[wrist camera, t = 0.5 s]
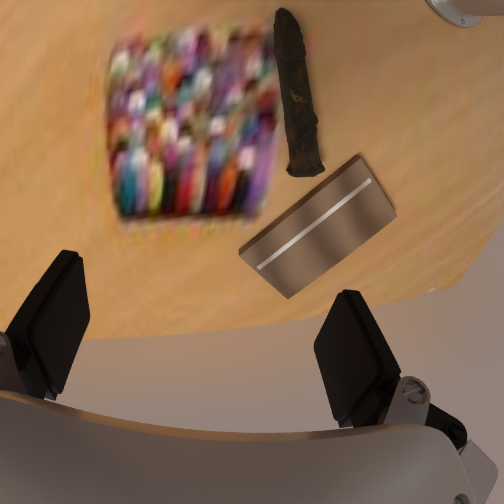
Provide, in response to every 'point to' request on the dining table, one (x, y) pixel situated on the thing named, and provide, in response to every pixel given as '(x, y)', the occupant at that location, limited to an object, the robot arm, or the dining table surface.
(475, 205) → the dining table surface
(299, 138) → the hand tool
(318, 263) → the board
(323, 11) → the dining table surface
